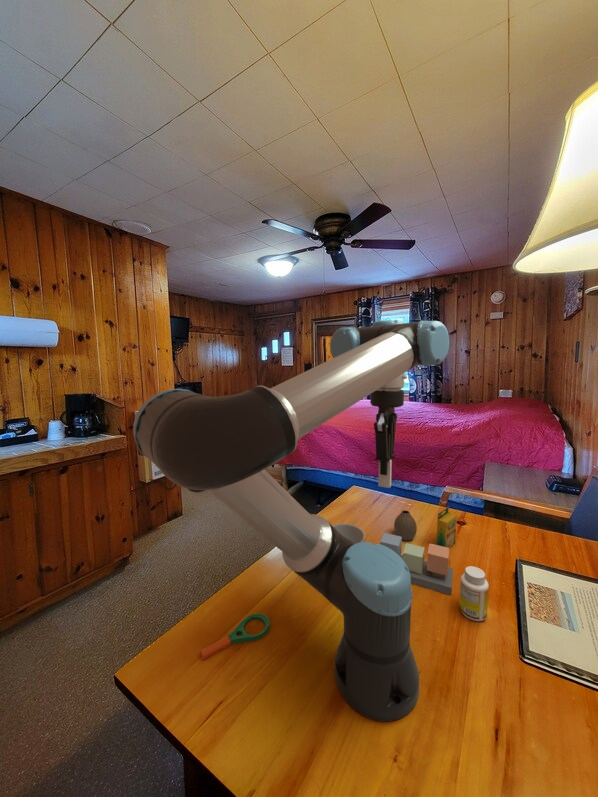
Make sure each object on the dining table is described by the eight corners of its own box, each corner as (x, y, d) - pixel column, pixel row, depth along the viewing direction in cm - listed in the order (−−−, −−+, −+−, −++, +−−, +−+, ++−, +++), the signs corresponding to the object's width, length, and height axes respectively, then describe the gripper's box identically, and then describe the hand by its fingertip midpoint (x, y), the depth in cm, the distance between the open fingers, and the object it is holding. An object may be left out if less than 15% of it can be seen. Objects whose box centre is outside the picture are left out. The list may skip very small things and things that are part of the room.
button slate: (398, 562, 86) (398, 546, 85) (380, 557, 88) (380, 541, 87) (401, 552, 90) (401, 536, 89) (384, 548, 92) (384, 532, 92)
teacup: (362, 547, 99) (362, 523, 98) (366, 571, 88) (366, 544, 87) (317, 546, 100) (317, 522, 99) (315, 569, 90) (315, 542, 88)
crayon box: (445, 554, 95) (446, 517, 93) (435, 549, 97) (436, 513, 95) (455, 544, 100) (457, 508, 98) (446, 540, 102) (447, 505, 100)
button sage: (421, 574, 83) (422, 557, 83) (402, 568, 85) (402, 552, 85) (424, 563, 87) (424, 547, 87) (405, 558, 90) (406, 543, 89)
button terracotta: (447, 575, 80) (448, 558, 80) (426, 570, 82) (427, 553, 82) (448, 564, 84) (449, 548, 84) (428, 559, 87) (429, 543, 86)
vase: (398, 529, 109) (398, 504, 107) (419, 535, 105) (419, 510, 103) (390, 539, 103) (391, 513, 102) (412, 546, 99) (413, 519, 98)
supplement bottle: (478, 603, 76) (480, 563, 75) (492, 622, 71) (495, 580, 69) (454, 603, 76) (456, 563, 75) (466, 623, 71) (469, 580, 69)
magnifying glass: (261, 613, 75) (261, 607, 75) (274, 631, 70) (274, 624, 70) (196, 648, 67) (196, 641, 66) (206, 671, 62) (206, 663, 61)
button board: (451, 595, 79) (452, 574, 78) (374, 572, 88) (374, 553, 87) (452, 575, 86) (453, 556, 85) (381, 556, 95) (381, 538, 94)
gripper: (397, 392, 67) (394, 499, 70) (409, 387, 79) (405, 479, 82) (362, 390, 71) (361, 493, 74) (378, 386, 82) (376, 474, 85)
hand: (384, 485), depth 78 cm, fingers closed
